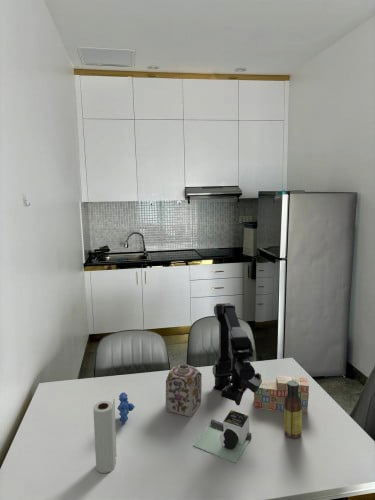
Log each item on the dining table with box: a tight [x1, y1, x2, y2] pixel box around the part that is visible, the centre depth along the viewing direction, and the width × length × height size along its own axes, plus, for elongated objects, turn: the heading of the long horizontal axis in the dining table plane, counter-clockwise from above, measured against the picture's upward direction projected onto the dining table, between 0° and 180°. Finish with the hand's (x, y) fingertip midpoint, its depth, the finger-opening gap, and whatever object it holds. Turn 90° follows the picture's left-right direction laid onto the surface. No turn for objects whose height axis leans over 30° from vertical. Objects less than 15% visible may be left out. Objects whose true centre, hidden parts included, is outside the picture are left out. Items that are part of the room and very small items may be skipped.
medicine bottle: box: [220, 409, 250, 449], centre depth 128 cm, size 7×7×12 cm
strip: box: [210, 419, 252, 441], centre depth 134 cm, size 16×1×2 cm, turn 59°
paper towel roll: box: [93, 399, 117, 474], centre depth 115 cm, size 7×6×21 cm
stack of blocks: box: [253, 375, 310, 415], centre depth 149 cm, size 21×6×12 cm, turn 79°
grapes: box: [117, 392, 136, 424], centre depth 139 cm, size 12×7×12 cm, turn 10°
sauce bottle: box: [283, 381, 303, 439], centre depth 131 cm, size 6×6×20 cm
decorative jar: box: [165, 363, 203, 418], centre depth 148 cm, size 12×12×18 cm
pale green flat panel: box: [192, 426, 250, 464], centre depth 127 cm, size 16×12×1 cm
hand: (238, 404), depth 139 cm, fingers closed
